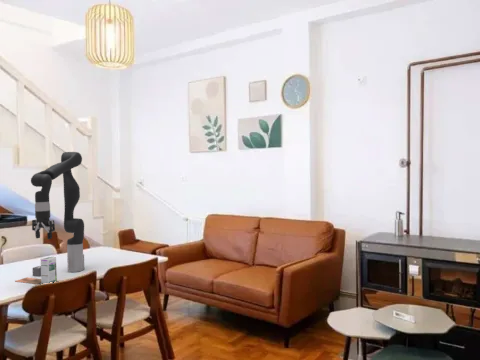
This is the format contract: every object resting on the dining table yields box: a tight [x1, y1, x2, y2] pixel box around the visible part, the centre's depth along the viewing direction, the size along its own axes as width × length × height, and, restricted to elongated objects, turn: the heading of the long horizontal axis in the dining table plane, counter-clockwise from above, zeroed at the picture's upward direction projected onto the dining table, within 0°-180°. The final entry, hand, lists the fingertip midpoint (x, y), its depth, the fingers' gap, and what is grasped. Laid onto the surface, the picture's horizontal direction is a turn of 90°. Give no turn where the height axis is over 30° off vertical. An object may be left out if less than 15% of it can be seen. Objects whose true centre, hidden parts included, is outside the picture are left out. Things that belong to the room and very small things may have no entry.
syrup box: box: [40, 256, 58, 284], centre depth 222 cm, size 6×6×14 cm
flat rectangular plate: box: [14, 276, 42, 285], centre depth 225 cm, size 8×25×1 cm, turn 70°
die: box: [32, 265, 41, 278], centre depth 239 cm, size 5×5×5 cm
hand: (43, 238), depth 220 cm, fingers open, 8 cm apart
